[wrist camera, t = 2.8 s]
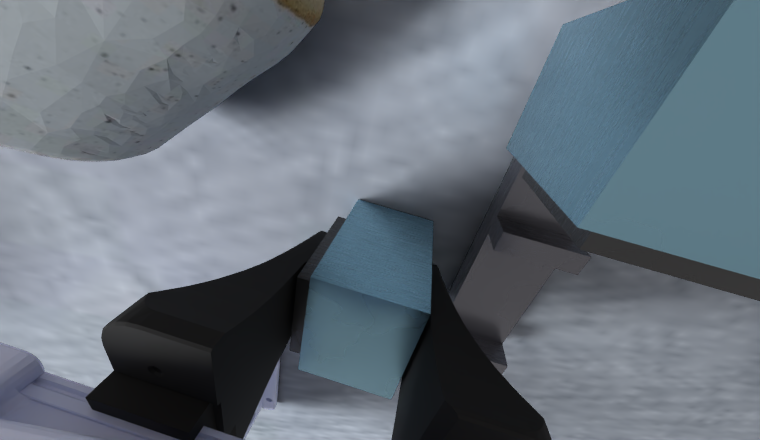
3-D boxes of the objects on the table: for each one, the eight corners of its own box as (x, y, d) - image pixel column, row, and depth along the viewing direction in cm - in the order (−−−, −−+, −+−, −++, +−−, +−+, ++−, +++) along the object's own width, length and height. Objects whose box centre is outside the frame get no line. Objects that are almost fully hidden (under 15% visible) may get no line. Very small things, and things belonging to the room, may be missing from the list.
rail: (503, 340, 15) (544, 510, 9) (422, 315, 15) (412, 466, 9) (701, 57, 8) (1301, 26, 3) (552, 20, 9) (794, -87, 3)
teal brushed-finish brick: (433, 221, 12) (430, 313, 8) (406, 292, 15) (391, 399, 10) (348, 196, 13) (293, 271, 8) (334, 270, 15) (284, 365, 10)
